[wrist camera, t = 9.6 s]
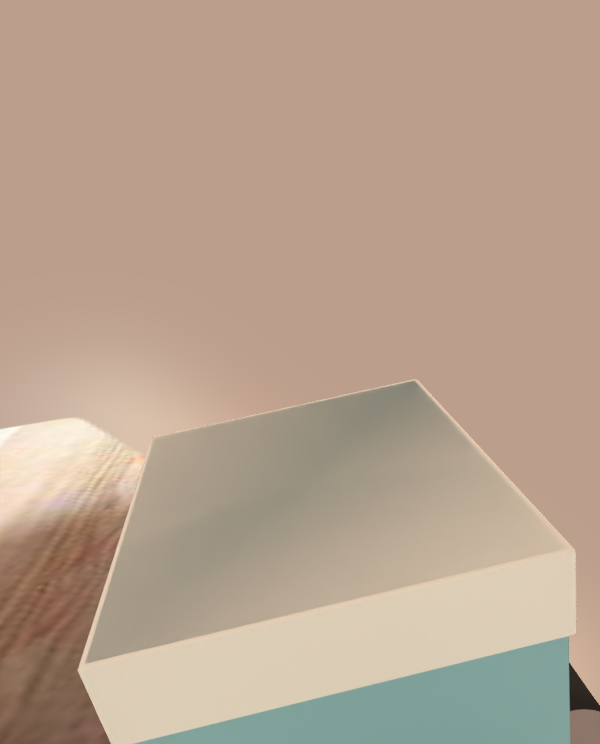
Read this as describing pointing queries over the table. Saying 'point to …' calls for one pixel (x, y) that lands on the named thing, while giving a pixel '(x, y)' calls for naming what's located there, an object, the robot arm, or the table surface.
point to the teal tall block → (333, 587)
